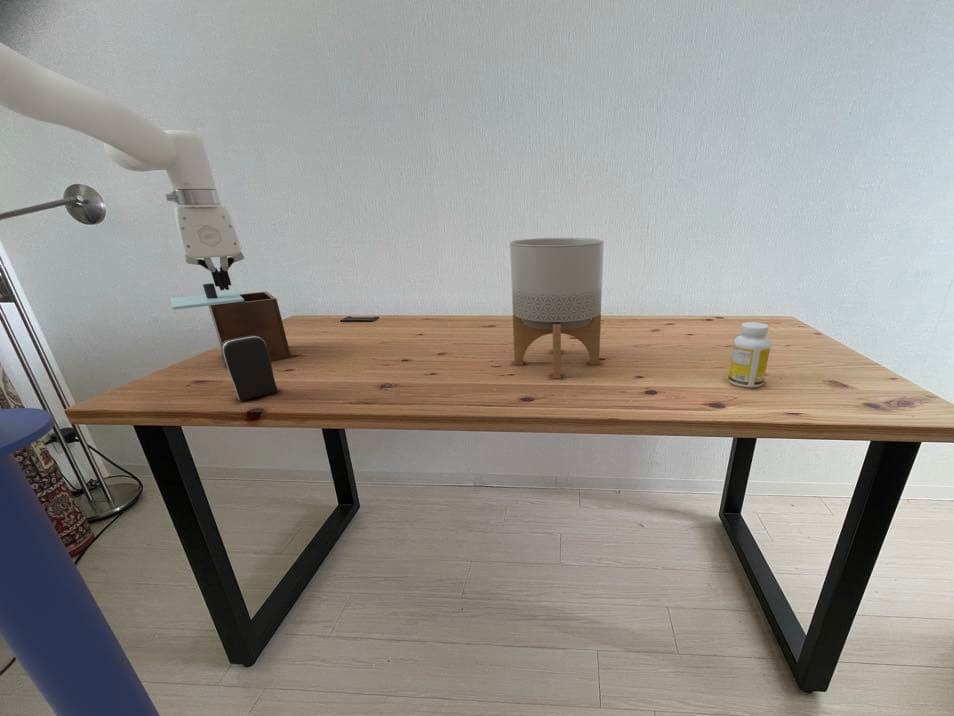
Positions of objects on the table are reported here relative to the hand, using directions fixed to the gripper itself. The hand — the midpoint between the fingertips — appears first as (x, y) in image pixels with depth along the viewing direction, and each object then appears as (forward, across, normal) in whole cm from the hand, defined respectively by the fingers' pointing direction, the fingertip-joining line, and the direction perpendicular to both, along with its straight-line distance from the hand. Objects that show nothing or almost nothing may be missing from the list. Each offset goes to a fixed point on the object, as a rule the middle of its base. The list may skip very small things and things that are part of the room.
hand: (224, 289), depth 102 cm
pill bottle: (+17, +76, -84) cm, 114 cm away
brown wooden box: (+16, +2, 0) cm, 17 cm away
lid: (+2, -4, 0) cm, 4 cm away
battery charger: (+16, -1, -28) cm, 33 cm away
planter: (+17, +55, -51) cm, 76 cm away
